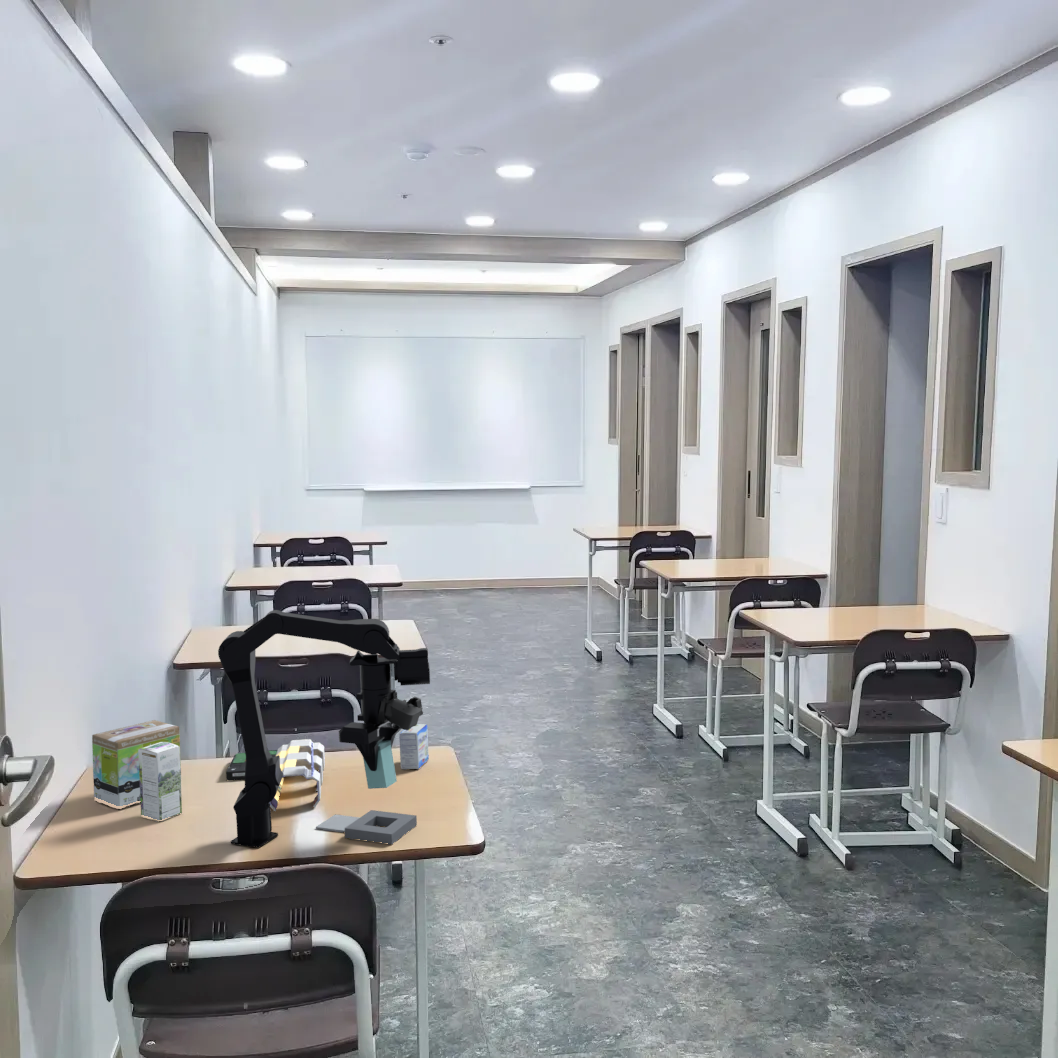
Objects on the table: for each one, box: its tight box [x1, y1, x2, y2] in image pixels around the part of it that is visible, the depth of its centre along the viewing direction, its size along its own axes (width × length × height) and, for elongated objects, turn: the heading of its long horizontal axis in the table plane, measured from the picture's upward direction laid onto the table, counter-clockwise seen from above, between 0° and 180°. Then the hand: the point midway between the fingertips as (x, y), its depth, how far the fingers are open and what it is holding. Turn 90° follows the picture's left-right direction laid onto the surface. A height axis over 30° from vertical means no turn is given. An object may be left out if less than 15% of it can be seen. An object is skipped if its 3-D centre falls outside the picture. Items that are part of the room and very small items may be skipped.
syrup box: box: [138, 742, 183, 820], centre depth 206 cm, size 6×6×14 cm
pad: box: [315, 814, 361, 833], centre depth 200 cm, size 7×7×1 cm
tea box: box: [91, 719, 182, 806], centre depth 219 cm, size 15×10×15 cm, turn 143°
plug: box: [362, 740, 398, 790], centre depth 195 cm, size 4×4×8 cm
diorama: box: [269, 738, 326, 812], centre depth 221 cm, size 25×10×13 cm, turn 9°
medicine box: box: [398, 723, 430, 770], centre depth 236 cm, size 8×4×9 cm, turn 168°
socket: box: [344, 809, 418, 845], centre depth 196 cm, size 10×10×2 cm
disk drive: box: [225, 749, 278, 781], centre depth 236 cm, size 10×3×15 cm
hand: (379, 767), depth 195 cm, fingers closed on plug, 4 cm apart
